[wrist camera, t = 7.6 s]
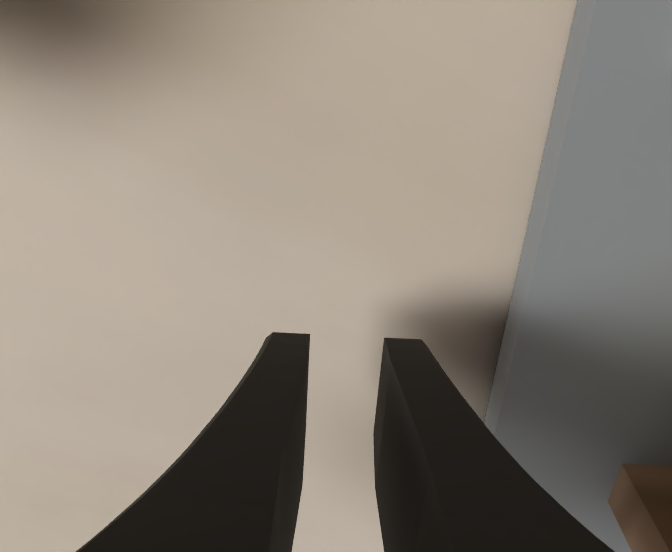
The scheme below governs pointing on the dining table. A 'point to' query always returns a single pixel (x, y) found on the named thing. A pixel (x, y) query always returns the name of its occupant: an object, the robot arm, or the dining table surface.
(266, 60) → the dining table surface
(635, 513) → the gauge housing
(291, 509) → the robot arm
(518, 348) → the mat
